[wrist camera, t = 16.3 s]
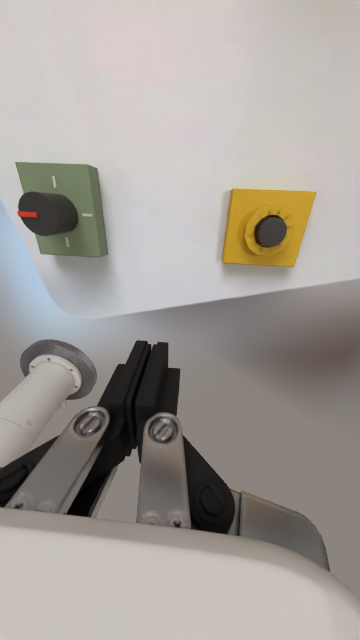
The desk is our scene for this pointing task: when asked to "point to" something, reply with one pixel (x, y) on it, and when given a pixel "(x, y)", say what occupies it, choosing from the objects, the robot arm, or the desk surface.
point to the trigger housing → (253, 209)
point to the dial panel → (85, 196)
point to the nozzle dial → (47, 213)
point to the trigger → (271, 231)
